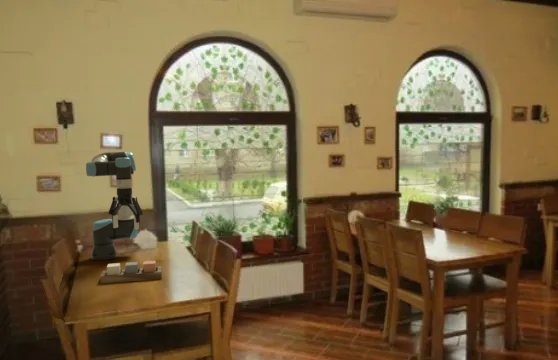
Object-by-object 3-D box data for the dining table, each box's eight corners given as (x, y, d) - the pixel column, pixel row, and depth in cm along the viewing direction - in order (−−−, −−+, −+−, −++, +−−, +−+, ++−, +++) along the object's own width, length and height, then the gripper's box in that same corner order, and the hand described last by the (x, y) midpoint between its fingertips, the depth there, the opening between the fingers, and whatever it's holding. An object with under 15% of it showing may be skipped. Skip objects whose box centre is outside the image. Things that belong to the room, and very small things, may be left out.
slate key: (126, 271, 254) (126, 262, 254) (138, 270, 255) (137, 261, 255) (125, 274, 248) (125, 265, 248) (137, 273, 250) (137, 264, 249)
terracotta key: (144, 269, 256) (143, 261, 256) (155, 268, 257) (155, 260, 257) (143, 272, 250) (143, 264, 250) (155, 271, 252) (155, 263, 251)
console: (103, 276, 255) (103, 270, 254) (161, 272, 261) (161, 265, 261) (100, 283, 243) (100, 276, 243) (161, 278, 250) (161, 271, 249)
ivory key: (108, 272, 252) (108, 264, 252) (120, 271, 253) (120, 263, 253) (107, 275, 246) (106, 267, 246) (119, 274, 248) (119, 266, 247)
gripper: (100, 187, 250) (102, 228, 251) (139, 188, 240) (141, 230, 242) (110, 186, 257) (112, 226, 258) (148, 187, 247) (150, 228, 249)
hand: (126, 228), depth 250 cm, fingers open, 13 cm apart
